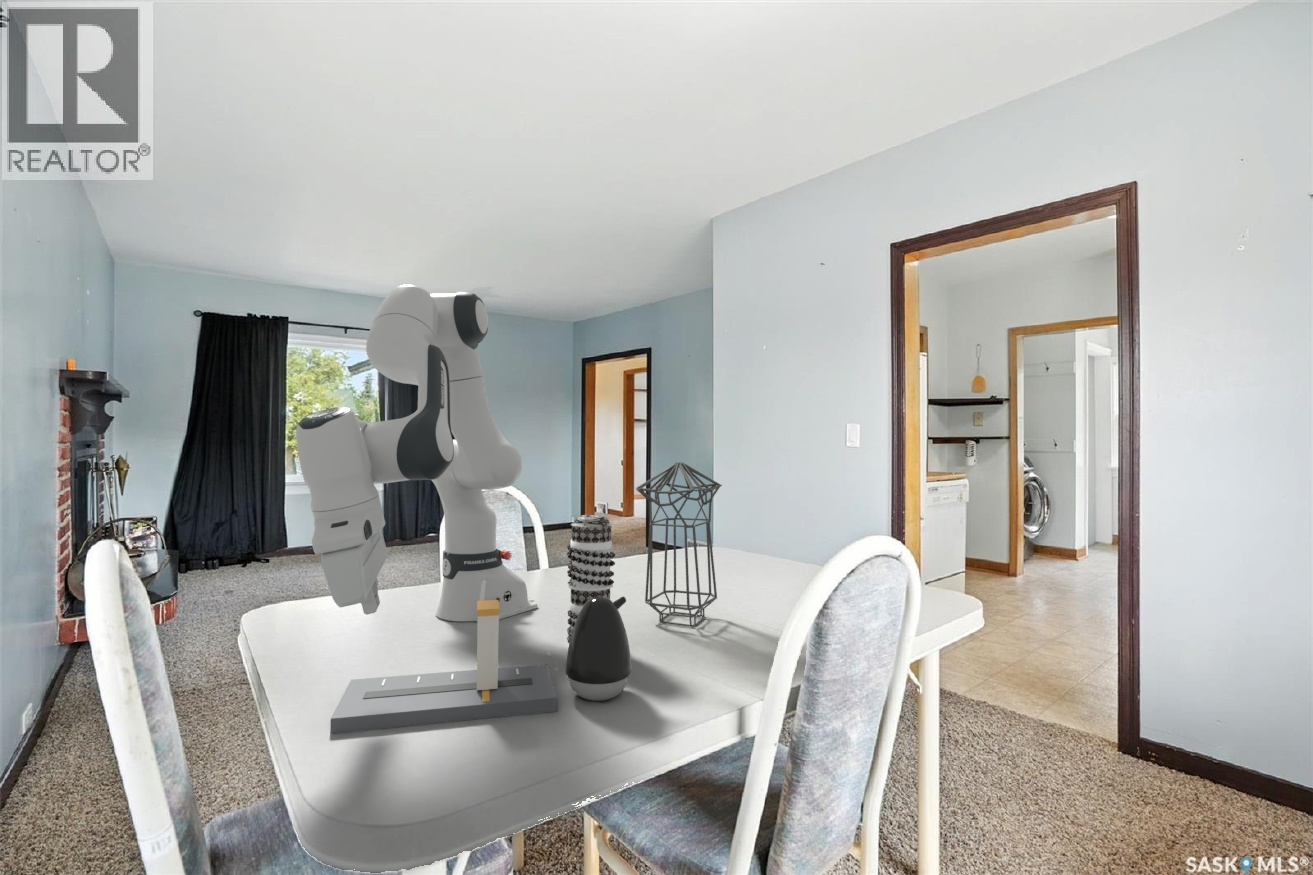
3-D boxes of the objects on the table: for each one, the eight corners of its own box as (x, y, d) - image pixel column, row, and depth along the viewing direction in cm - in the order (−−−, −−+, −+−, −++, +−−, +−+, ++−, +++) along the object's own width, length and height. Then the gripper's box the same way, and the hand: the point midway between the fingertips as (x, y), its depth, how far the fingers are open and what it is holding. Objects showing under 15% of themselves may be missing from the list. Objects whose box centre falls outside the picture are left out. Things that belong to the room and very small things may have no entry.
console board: (330, 733, 84) (330, 717, 85) (350, 692, 98) (351, 678, 98) (556, 711, 93) (556, 696, 93) (546, 676, 106) (547, 663, 106)
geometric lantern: (701, 635, 130) (699, 464, 130) (633, 625, 137) (631, 463, 136) (727, 615, 144) (725, 460, 144) (664, 607, 151) (662, 460, 151)
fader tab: (475, 690, 94) (477, 609, 94) (476, 677, 99) (477, 600, 99) (498, 688, 95) (499, 608, 95) (497, 676, 100) (498, 599, 100)
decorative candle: (555, 646, 121) (557, 515, 121) (592, 636, 127) (594, 512, 127) (585, 659, 114) (587, 520, 114) (623, 647, 121) (625, 516, 121)
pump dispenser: (645, 694, 99) (646, 597, 99) (593, 714, 92) (594, 609, 92) (603, 676, 106) (605, 585, 106) (552, 693, 99) (553, 596, 99)
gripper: (343, 508, 101) (363, 589, 103) (307, 547, 81) (333, 646, 84) (385, 500, 102) (404, 580, 105) (359, 536, 82) (384, 633, 85)
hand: (372, 609), depth 94 cm, fingers closed
